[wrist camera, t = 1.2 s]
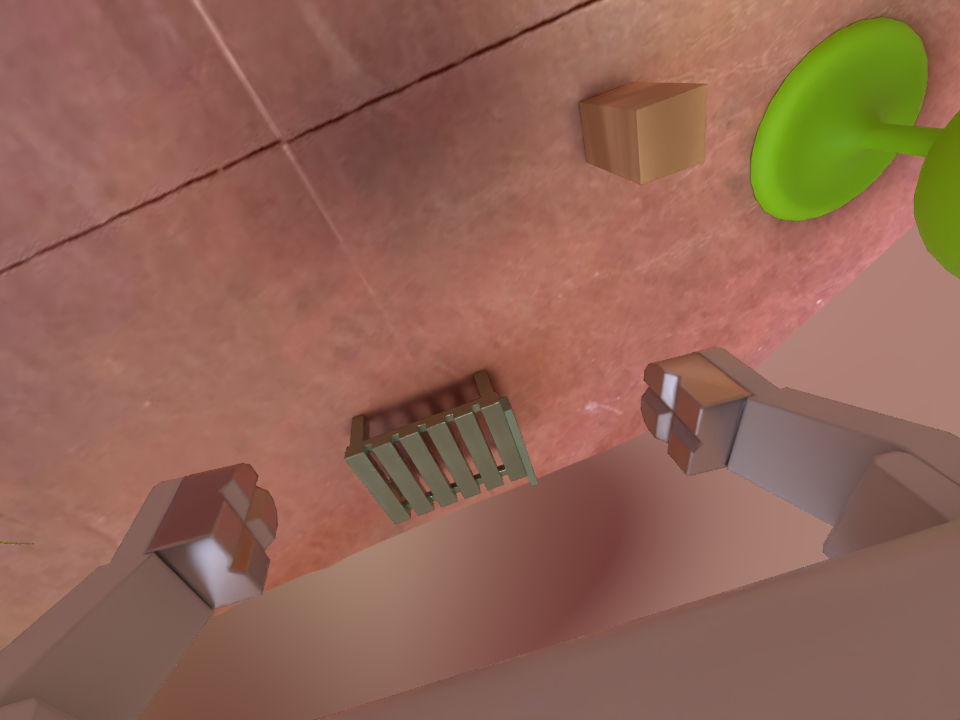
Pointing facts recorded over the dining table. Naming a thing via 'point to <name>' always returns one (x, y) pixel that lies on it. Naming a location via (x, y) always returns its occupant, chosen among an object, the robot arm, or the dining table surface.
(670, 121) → the block
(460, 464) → the rack
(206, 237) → the dining table surface
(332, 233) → the dining table surface
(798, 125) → the wineglass
